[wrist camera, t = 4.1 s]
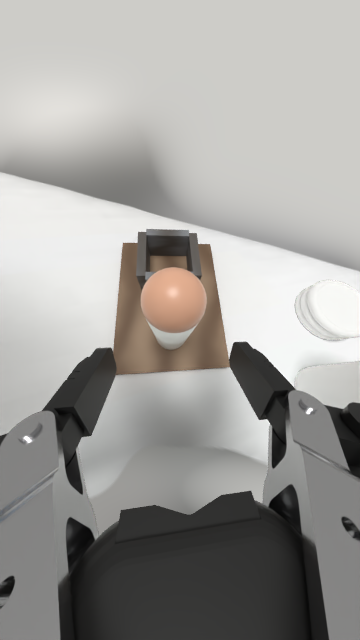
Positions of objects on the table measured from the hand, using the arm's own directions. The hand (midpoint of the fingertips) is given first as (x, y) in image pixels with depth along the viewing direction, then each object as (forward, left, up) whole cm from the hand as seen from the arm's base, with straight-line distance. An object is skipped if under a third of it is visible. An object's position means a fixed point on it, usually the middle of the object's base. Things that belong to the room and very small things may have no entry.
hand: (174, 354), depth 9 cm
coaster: (+27, +6, -12) cm, 30 cm away
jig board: (0, +9, -11) cm, 15 cm away
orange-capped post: (0, +3, -10) cm, 11 cm away
